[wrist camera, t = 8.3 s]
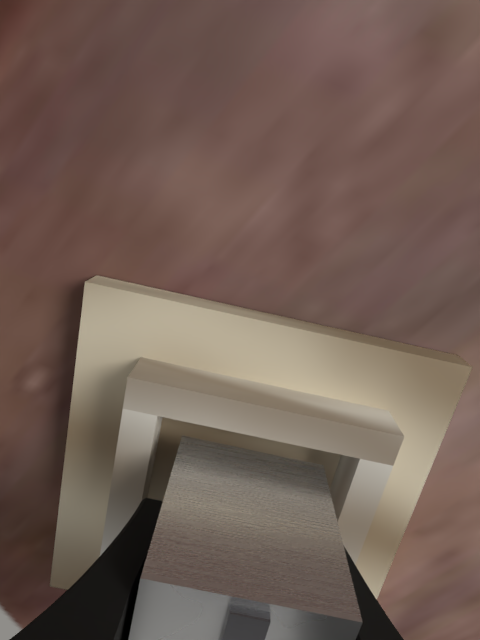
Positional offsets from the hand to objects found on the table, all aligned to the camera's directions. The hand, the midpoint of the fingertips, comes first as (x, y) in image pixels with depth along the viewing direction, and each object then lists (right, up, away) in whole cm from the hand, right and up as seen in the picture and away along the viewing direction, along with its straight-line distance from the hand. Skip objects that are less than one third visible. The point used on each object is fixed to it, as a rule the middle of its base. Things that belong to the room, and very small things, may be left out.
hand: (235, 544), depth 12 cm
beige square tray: (0, +1, +3) cm, 3 cm away
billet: (0, 0, +1) cm, 1 cm away
